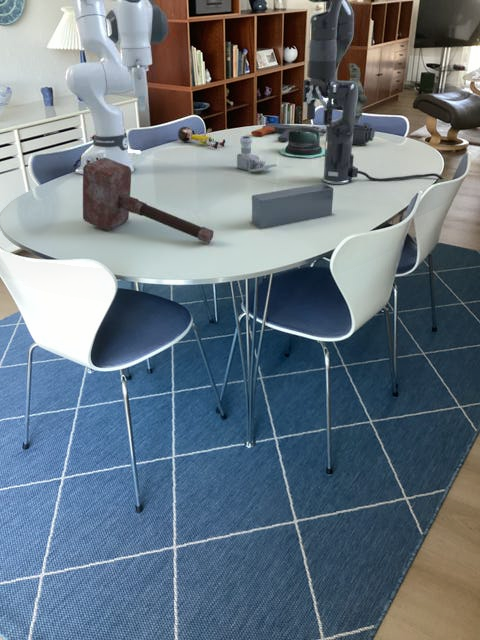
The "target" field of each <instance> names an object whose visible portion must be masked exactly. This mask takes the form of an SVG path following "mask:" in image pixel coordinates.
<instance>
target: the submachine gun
mask: <svg viewBox="0 0 480 640" xmlns="http://www.w3.org/2000/svg"><path fill="white" fill-rule="evenodd" d="M298 128H311V129H316V130H318V131H319V132H320V137H323V136H324V135H326V128H322V129H320V127H319V126H309V125H298V124H288V123H286V124H285V123H273V122H269V123H265V125H262V127H261V128H258V129H254V130H252V131H251V132H250V133H251V134H250V135H251V136H255V137H262V136H264V135H266V134H271V133H278V134H280V135H279V136H278V137H277V141H278V142H288V140H289V131H291V130H294V129H298Z"/></svg>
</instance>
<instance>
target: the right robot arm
mask: <svg viewBox="0 0 480 640" xmlns="http://www.w3.org/2000/svg"><path fill="white" fill-rule="evenodd" d="M308 1H309V2H311V3H323V11H322V12H318V13H315V14H312V15H311V16H310V19H309V40H308V47H307V48H308V49H307V68H306V71H307V72H306V76H307V78H308V79H304V80H303V89H302V102H303V103H305V106H306V108H307V109H306V120H309V121H311V120H315V118H316V103H317V101H318V100H319V103H320V104H322V106H323V121H322V122H323V123H322V124H323V125H325V126H326V128H325V131H326V133H325V145H324V149H325V155H324V163H323V175H322V182H324V183H326V184H330V185H345V184H348V183H351V182H352V181H353V179H354V178H358V174H359V175H363V176H364V177H366V178H367V179H368V180H370V181H374V182H388V181H398V180H399V181H400V180H401V181H402V180H408V179H414V178H415V179H416V178H428V177H436V178H438V179H439V180H444V178H443V176H442V175H440V174H438V173H432V172H431V173H424V174H411V175H404V176H394V177H393V176H392V177H386V178H383V177H382V178H379V177H372V176H370V175H369V174H368V173H367V172H365V171H362V170H359V168H358V167H356V166H354V159H355V158H354V157H355V156H354V154H353V153H352V152H353V144H352V140H353V129H354V123H355V115H356V107H357V100H358V86H357V84H356V83H355V82H352V81H349V80H338V71H339V67H340V63H341V62H342V60H343V57H344V56H345V54H346V53H347V51H348V50H349V48H350V46H351V43H352V41H353V39H354V34H355V33H354V32H355V13H354V10H353V7H352V5H351V4H350V2H349V0H308ZM333 111H339V112H342V113H341V116H340V117H339V118H336V119H333Z"/></svg>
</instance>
